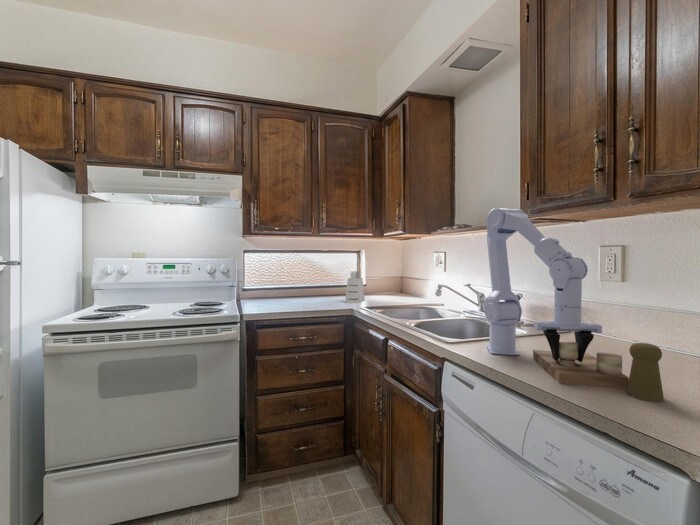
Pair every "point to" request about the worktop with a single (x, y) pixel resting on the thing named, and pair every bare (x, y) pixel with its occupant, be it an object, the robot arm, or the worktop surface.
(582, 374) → the board
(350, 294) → the grater
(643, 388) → the olive pawn piece
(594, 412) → the worktop surface
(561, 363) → the peg
